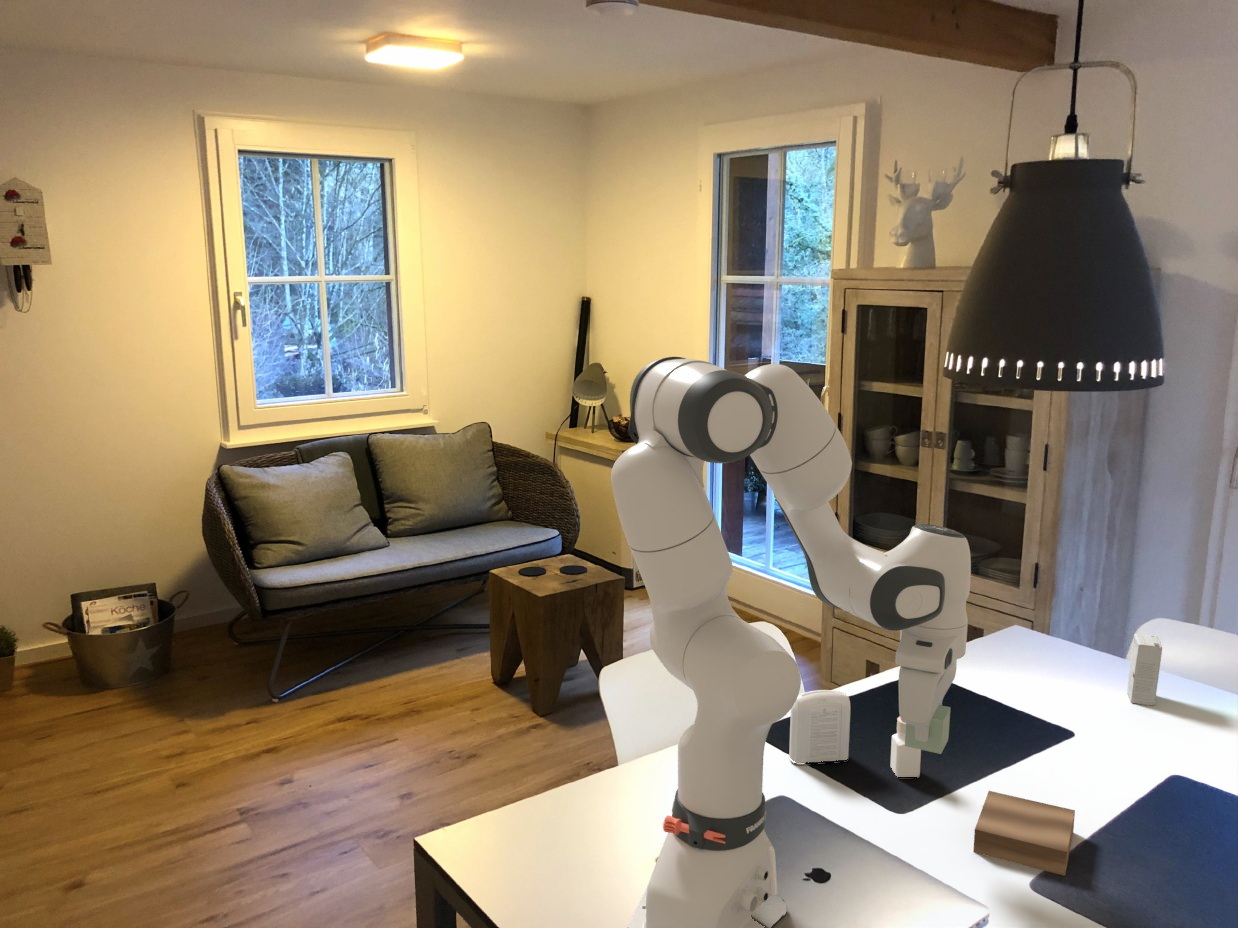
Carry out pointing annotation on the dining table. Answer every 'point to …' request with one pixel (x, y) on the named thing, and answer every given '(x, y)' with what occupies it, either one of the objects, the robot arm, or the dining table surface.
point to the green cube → (932, 732)
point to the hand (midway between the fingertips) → (927, 730)
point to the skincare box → (1144, 669)
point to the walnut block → (1025, 832)
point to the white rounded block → (820, 727)
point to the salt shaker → (904, 754)
